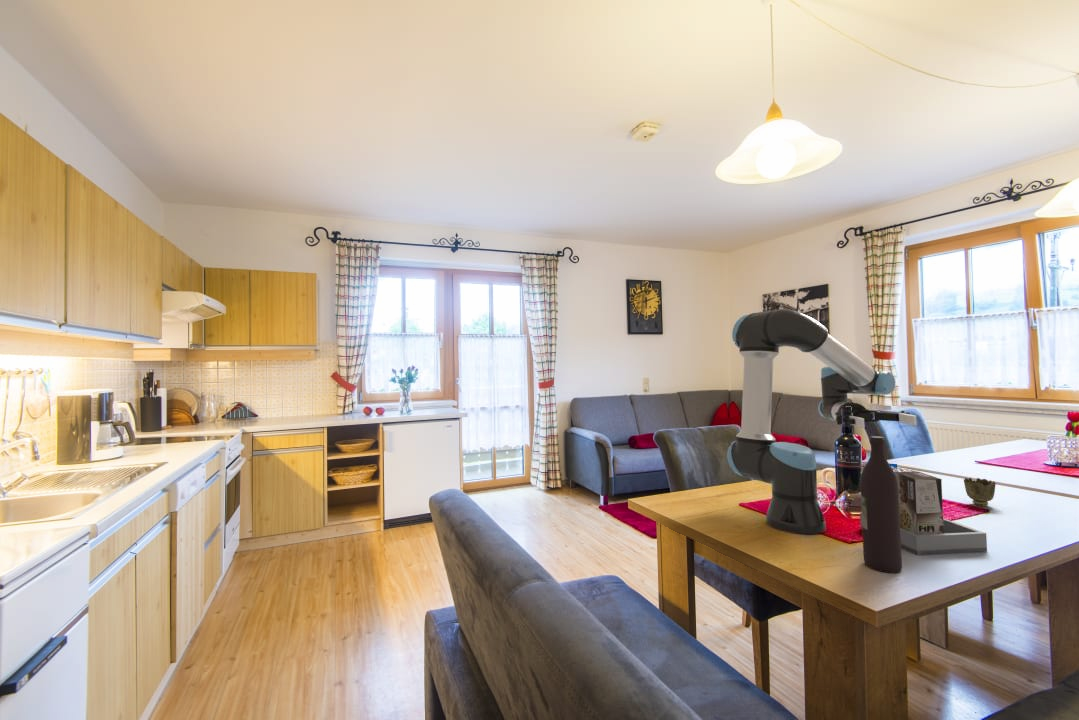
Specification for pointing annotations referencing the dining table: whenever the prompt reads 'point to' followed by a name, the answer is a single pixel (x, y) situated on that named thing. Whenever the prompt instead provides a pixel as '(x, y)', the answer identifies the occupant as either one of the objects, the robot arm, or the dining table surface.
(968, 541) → the tray
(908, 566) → the dining table surface
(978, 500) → the cup
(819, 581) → the dining table surface
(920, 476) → the coffee box
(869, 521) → the wine bottle
